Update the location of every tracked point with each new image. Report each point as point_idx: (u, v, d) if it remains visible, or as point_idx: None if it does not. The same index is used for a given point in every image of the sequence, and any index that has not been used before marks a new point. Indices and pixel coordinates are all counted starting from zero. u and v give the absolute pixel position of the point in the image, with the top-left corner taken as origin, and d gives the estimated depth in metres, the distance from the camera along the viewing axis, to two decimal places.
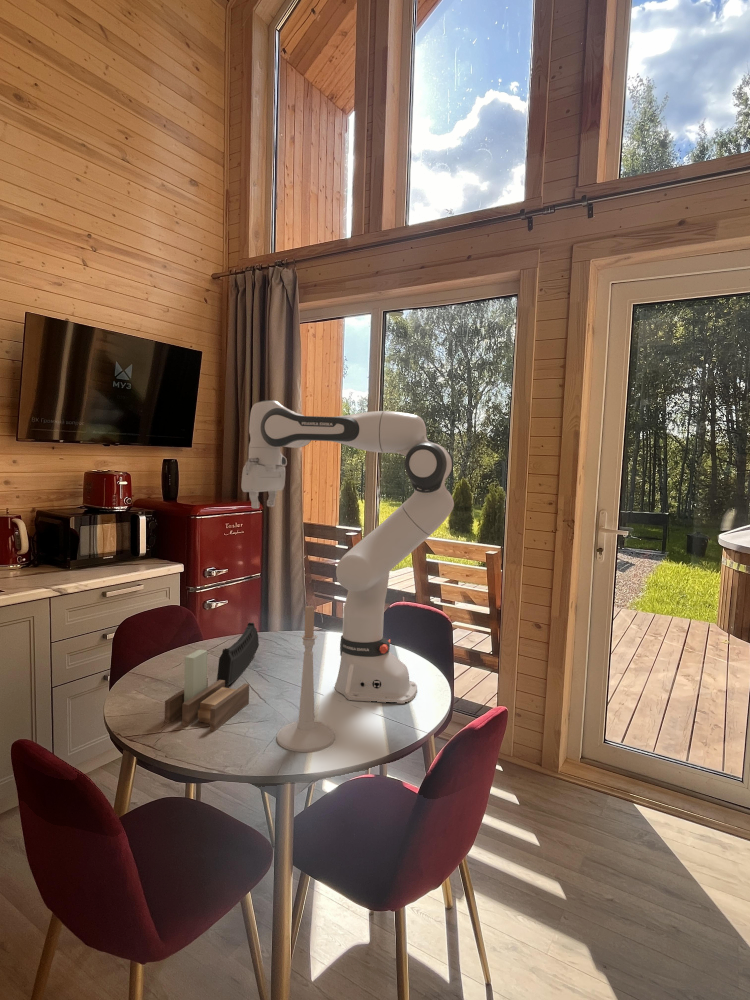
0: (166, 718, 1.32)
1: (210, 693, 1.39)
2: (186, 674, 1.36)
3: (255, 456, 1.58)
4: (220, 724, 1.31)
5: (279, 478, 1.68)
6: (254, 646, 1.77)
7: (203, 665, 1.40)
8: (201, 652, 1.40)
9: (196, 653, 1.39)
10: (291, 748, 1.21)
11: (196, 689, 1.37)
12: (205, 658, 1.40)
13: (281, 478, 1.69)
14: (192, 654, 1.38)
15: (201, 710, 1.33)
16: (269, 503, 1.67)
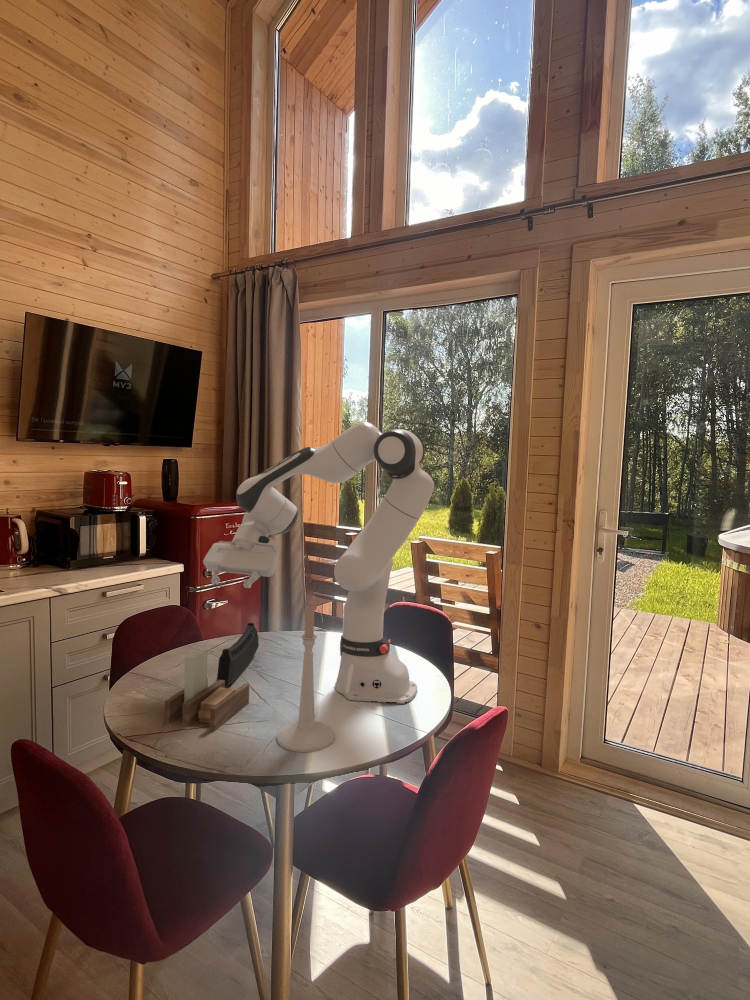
0: (166, 718, 1.32)
1: (210, 693, 1.39)
2: (186, 674, 1.36)
3: None
4: (220, 724, 1.31)
5: (260, 558, 1.55)
6: (254, 646, 1.77)
7: (203, 665, 1.40)
8: (201, 652, 1.40)
9: (196, 653, 1.39)
10: (291, 748, 1.21)
11: (196, 689, 1.37)
12: (205, 658, 1.40)
13: (265, 558, 1.55)
14: (192, 654, 1.38)
15: (202, 710, 1.33)
16: None
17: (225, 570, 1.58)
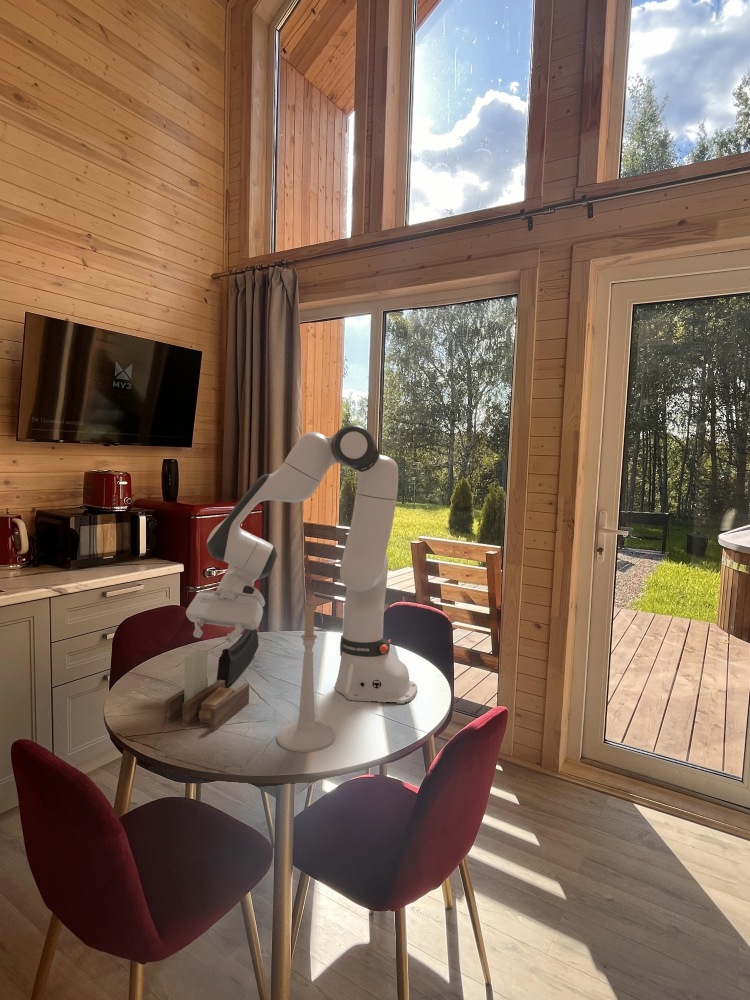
0: (166, 718, 1.32)
1: (210, 693, 1.39)
2: (186, 674, 1.36)
3: None
4: (220, 724, 1.31)
5: (244, 609, 1.48)
6: (254, 646, 1.77)
7: (203, 665, 1.40)
8: (201, 652, 1.40)
9: (196, 653, 1.39)
10: (291, 748, 1.21)
11: (196, 689, 1.37)
12: (205, 658, 1.40)
13: (249, 610, 1.48)
14: (192, 654, 1.38)
15: (202, 711, 1.33)
16: None
17: (208, 622, 1.51)
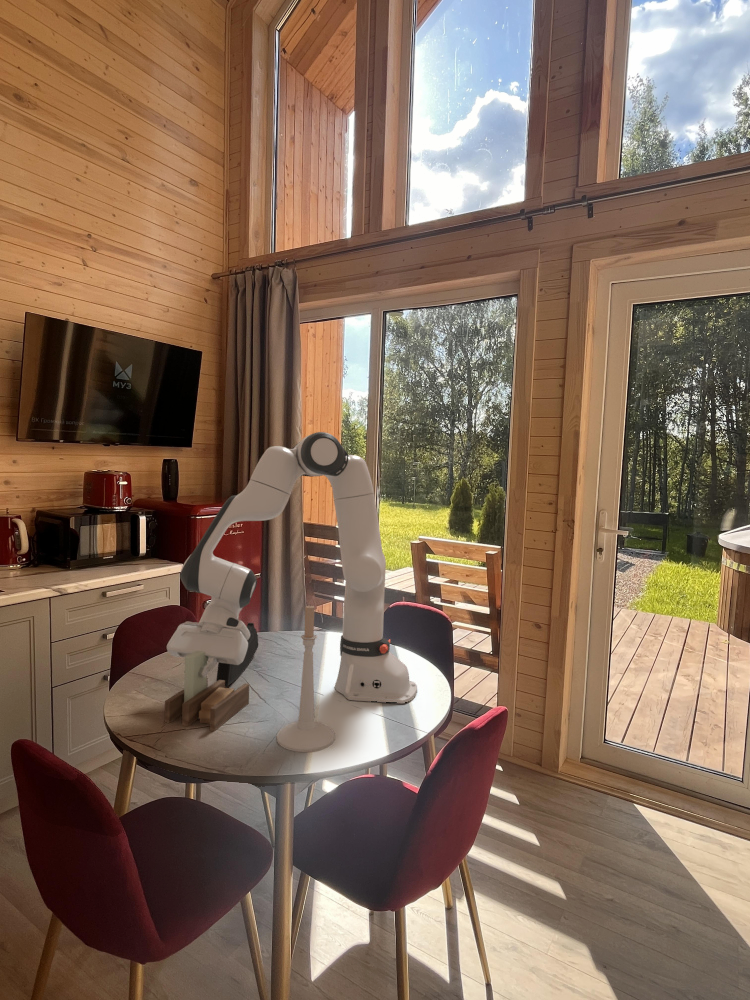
0: (166, 718, 1.32)
1: (210, 693, 1.39)
2: (186, 674, 1.36)
3: None
4: (220, 724, 1.31)
5: (228, 643, 1.41)
6: (254, 646, 1.77)
7: (203, 665, 1.40)
8: (201, 652, 1.40)
9: (196, 653, 1.39)
10: (291, 748, 1.21)
11: (196, 689, 1.37)
12: (205, 658, 1.40)
13: (233, 644, 1.40)
14: (192, 654, 1.38)
15: (202, 711, 1.33)
16: None
17: None
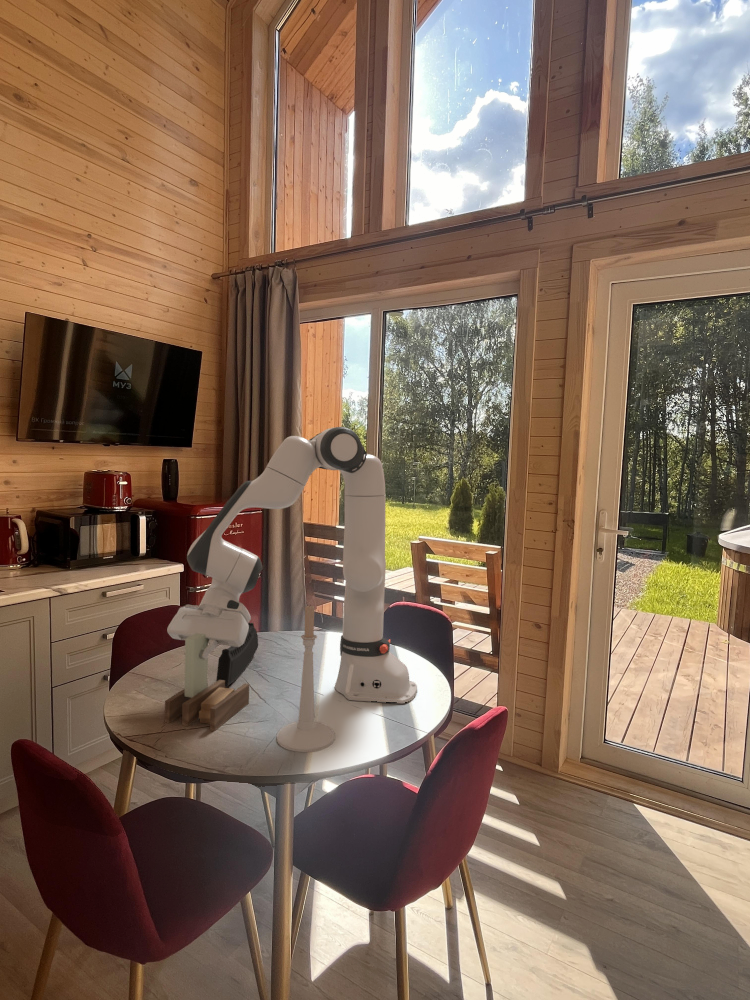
0: (166, 718, 1.32)
1: (210, 693, 1.39)
2: (187, 656, 1.36)
3: None
4: (220, 724, 1.31)
5: (228, 626, 1.40)
6: (253, 646, 1.77)
7: (204, 647, 1.39)
8: (202, 634, 1.39)
9: (197, 635, 1.39)
10: (291, 748, 1.21)
11: (197, 670, 1.37)
12: (205, 640, 1.40)
13: (234, 626, 1.40)
14: (193, 636, 1.38)
15: (202, 711, 1.33)
16: None
17: None
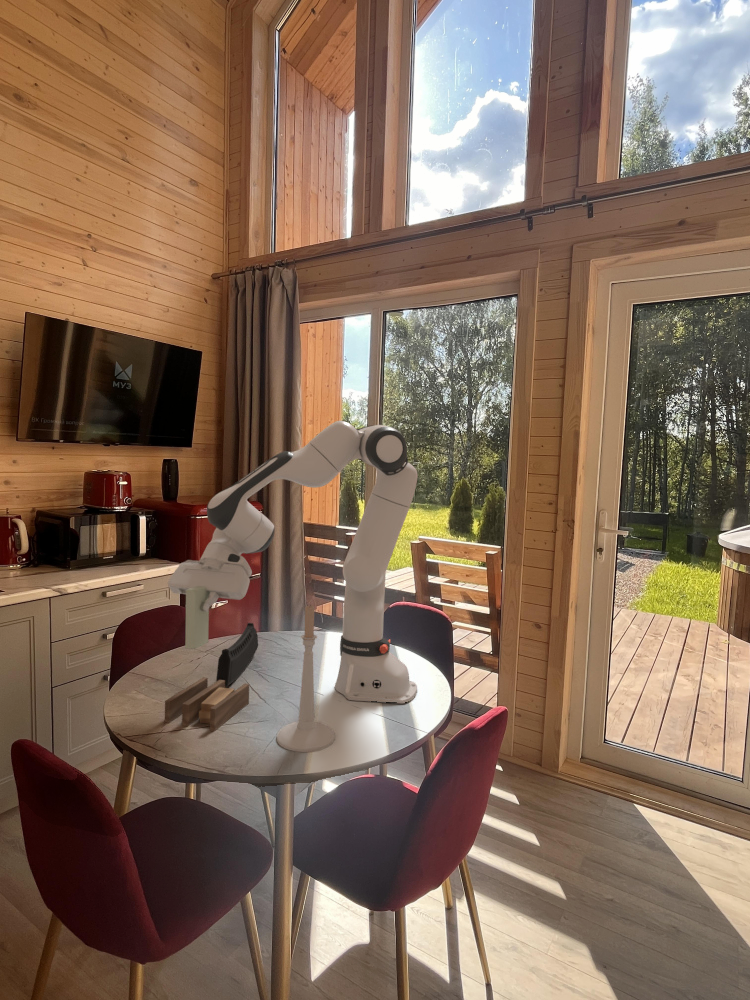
0: (166, 718, 1.32)
1: (210, 693, 1.39)
2: (187, 607, 1.35)
3: None
4: (220, 724, 1.31)
5: (229, 578, 1.40)
6: (253, 646, 1.77)
7: (204, 600, 1.39)
8: (202, 587, 1.39)
9: (197, 587, 1.38)
10: (291, 748, 1.21)
11: (197, 622, 1.36)
12: (206, 593, 1.39)
13: (234, 579, 1.39)
14: (193, 588, 1.37)
15: (202, 711, 1.33)
16: None
17: None
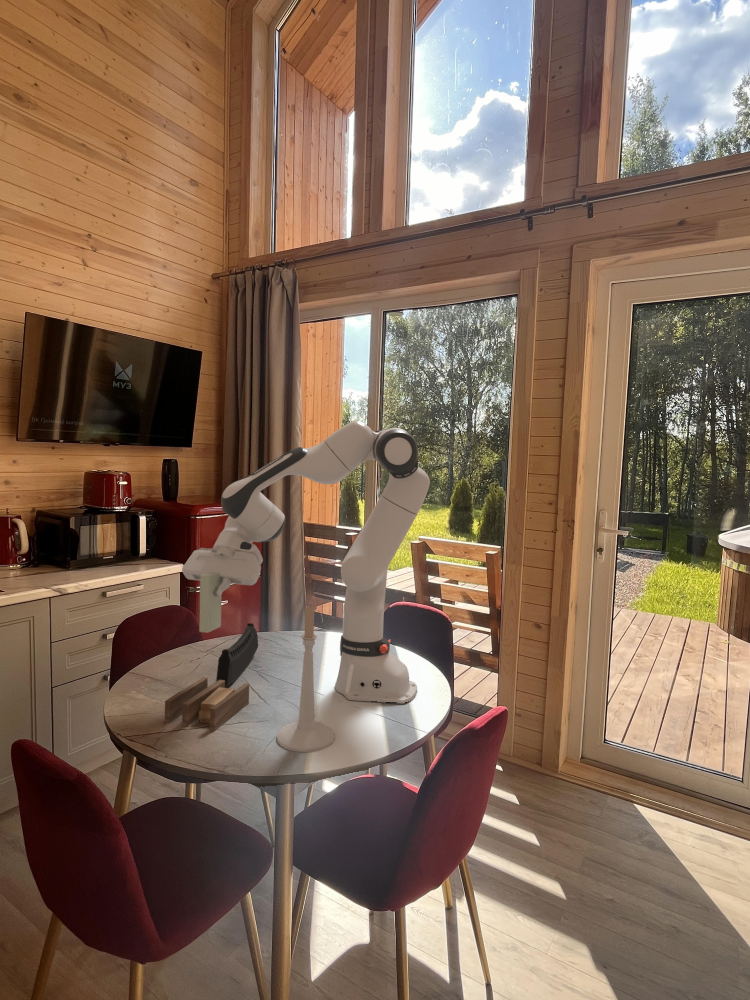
0: (166, 718, 1.32)
1: (210, 693, 1.39)
2: (202, 592, 1.41)
3: None
4: (220, 724, 1.31)
5: (241, 565, 1.45)
6: (253, 647, 1.76)
7: (218, 585, 1.44)
8: (216, 573, 1.44)
9: (211, 573, 1.44)
10: (291, 748, 1.21)
11: (211, 607, 1.42)
12: (219, 579, 1.45)
13: (247, 565, 1.45)
14: (207, 574, 1.43)
15: (202, 711, 1.33)
16: None
17: None
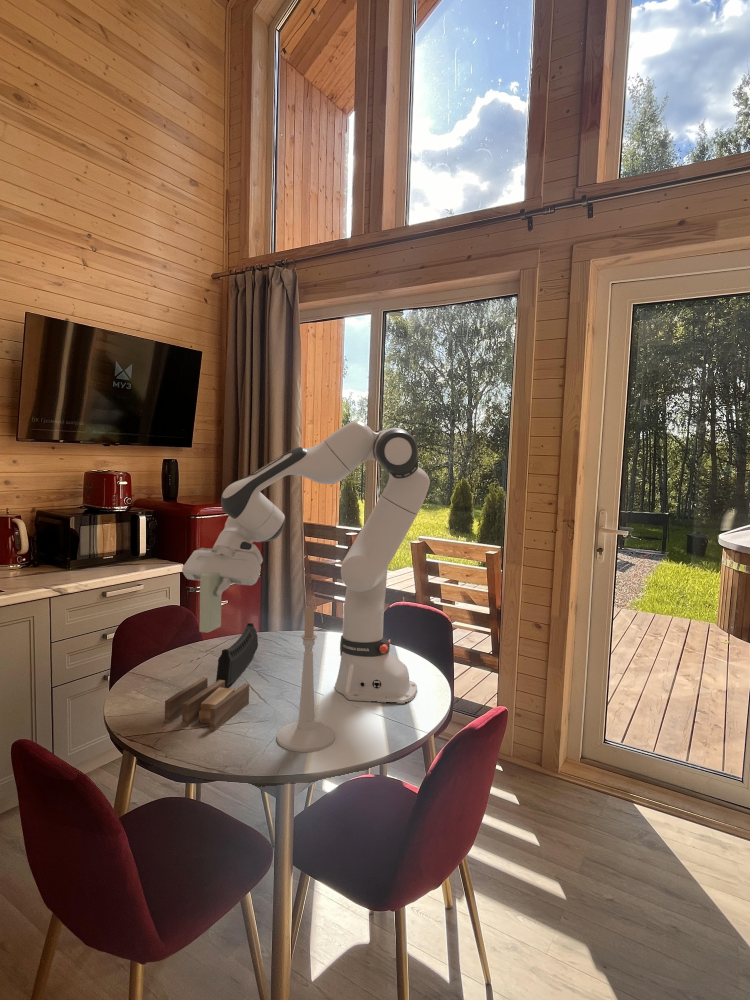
0: (166, 718, 1.32)
1: (210, 693, 1.39)
2: (202, 592, 1.41)
3: None
4: (220, 724, 1.31)
5: (241, 565, 1.45)
6: (253, 646, 1.76)
7: (218, 585, 1.44)
8: (216, 573, 1.44)
9: (211, 573, 1.44)
10: (291, 748, 1.21)
11: (211, 607, 1.42)
12: (219, 579, 1.45)
13: (247, 565, 1.45)
14: (207, 574, 1.43)
15: (202, 711, 1.33)
16: None
17: None
